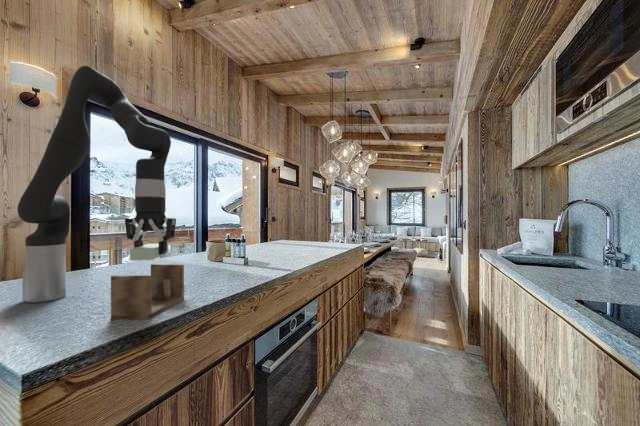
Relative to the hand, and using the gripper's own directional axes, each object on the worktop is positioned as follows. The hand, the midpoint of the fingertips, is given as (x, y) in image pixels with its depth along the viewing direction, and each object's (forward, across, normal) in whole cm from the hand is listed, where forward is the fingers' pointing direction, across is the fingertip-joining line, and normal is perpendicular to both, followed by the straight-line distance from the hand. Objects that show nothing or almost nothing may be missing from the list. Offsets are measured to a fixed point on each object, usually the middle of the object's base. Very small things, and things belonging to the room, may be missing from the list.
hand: (150, 253), depth 81 cm
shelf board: (+1, 0, 0) cm, 1 cm away
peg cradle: (+16, 0, 0) cm, 16 cm away
